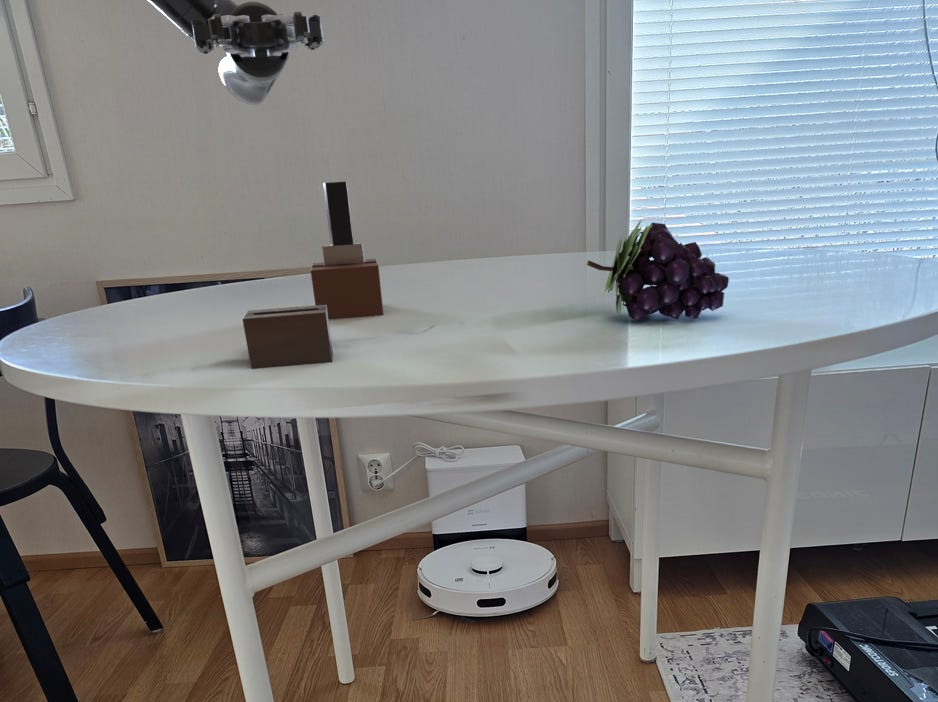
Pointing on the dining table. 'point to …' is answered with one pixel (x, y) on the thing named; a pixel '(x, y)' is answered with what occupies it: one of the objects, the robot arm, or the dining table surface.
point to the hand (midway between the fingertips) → (259, 24)
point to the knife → (340, 228)
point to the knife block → (288, 336)
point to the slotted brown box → (348, 289)
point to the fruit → (663, 276)
